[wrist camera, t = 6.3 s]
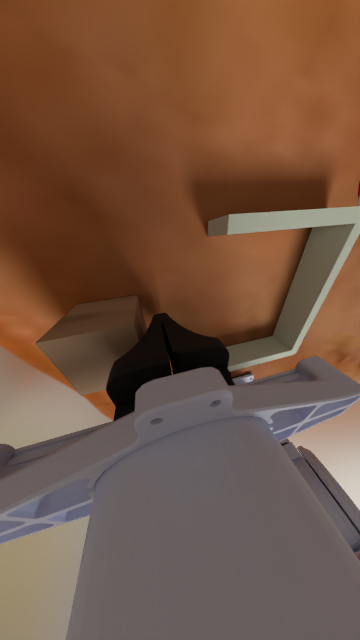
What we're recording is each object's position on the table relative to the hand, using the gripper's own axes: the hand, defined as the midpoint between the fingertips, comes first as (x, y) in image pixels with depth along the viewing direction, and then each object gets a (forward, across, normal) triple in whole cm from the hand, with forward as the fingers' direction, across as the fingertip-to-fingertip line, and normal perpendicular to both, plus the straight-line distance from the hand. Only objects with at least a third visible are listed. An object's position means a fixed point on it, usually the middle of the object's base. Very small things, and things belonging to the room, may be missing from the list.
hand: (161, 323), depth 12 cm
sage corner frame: (+1, -10, 0) cm, 10 cm away
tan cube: (+1, +4, 0) cm, 4 cm away
